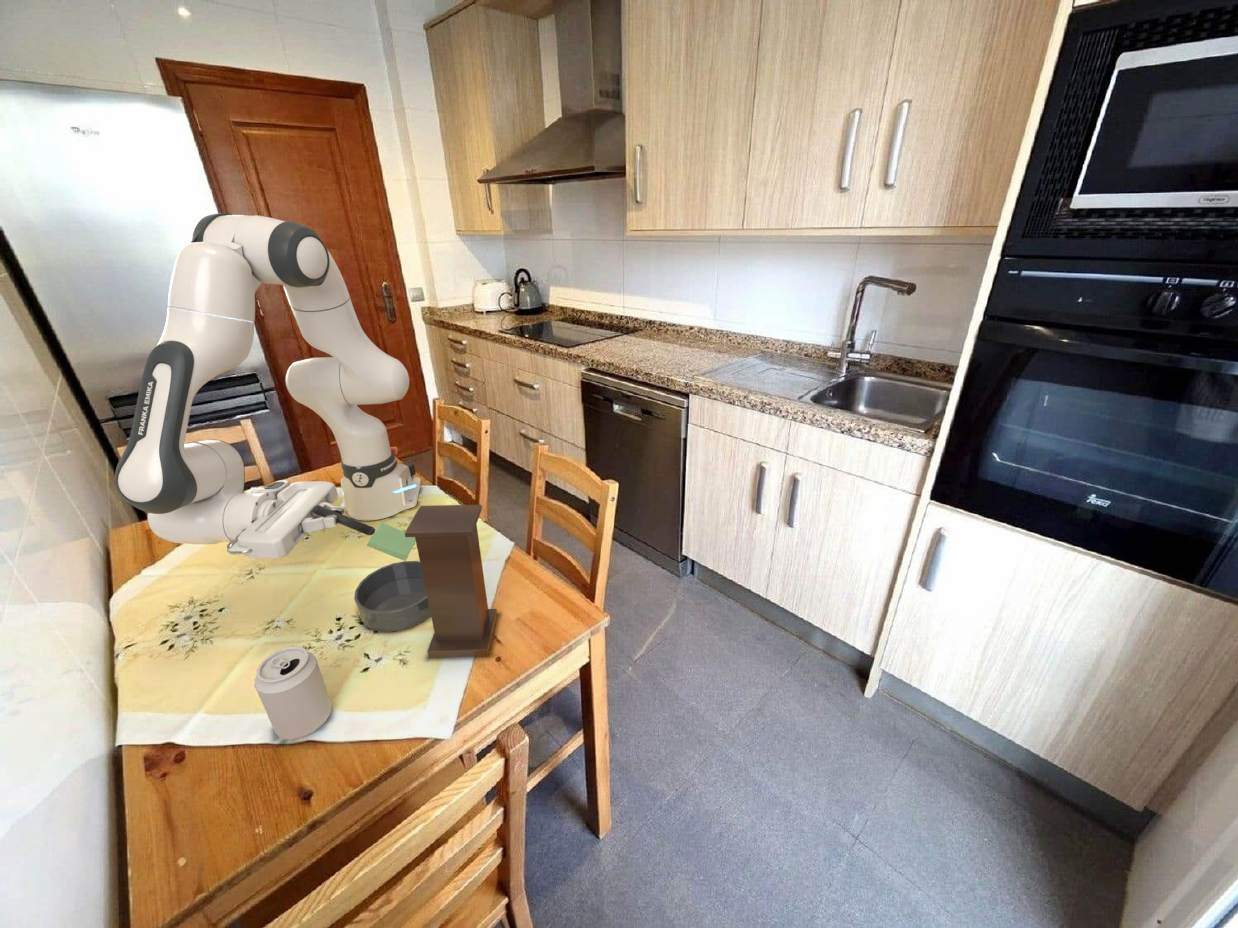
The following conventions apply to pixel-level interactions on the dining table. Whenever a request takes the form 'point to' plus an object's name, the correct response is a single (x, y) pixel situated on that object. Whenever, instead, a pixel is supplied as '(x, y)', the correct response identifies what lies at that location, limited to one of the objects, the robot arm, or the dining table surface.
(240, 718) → the dining table surface
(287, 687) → the can
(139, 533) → the dining table surface
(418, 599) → the pan
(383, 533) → the spatula
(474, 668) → the dining table surface
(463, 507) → the stand
